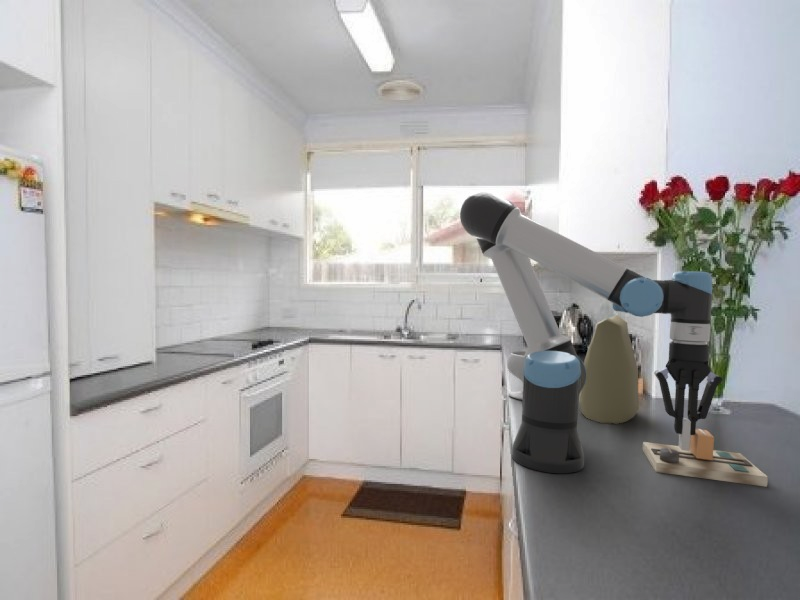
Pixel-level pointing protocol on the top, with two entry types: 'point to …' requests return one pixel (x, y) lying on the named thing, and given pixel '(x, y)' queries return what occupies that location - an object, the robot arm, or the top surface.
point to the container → (610, 374)
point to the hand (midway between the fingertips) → (683, 448)
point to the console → (704, 464)
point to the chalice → (517, 369)
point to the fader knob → (702, 444)
